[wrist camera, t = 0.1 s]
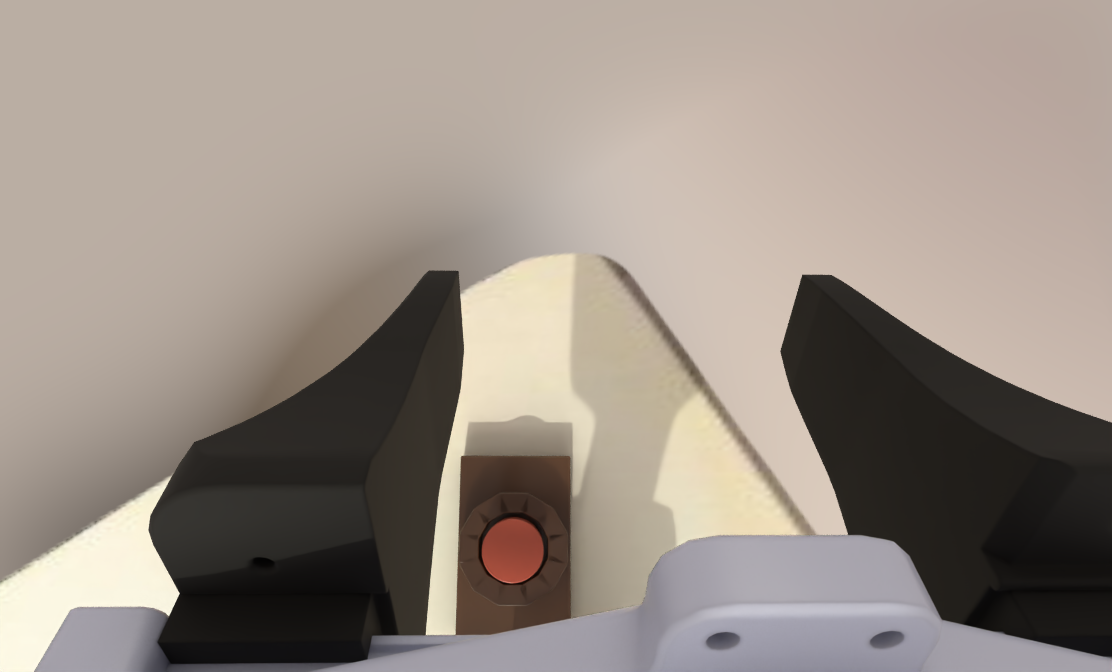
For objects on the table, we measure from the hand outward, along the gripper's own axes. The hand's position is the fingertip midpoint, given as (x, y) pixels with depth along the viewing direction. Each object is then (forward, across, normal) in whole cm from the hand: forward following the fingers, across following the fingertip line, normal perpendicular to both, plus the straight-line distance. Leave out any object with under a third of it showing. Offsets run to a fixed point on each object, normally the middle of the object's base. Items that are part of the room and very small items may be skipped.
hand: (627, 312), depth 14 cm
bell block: (+15, +3, +29) cm, 33 cm away
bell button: (+13, +3, +27) cm, 30 cm away
